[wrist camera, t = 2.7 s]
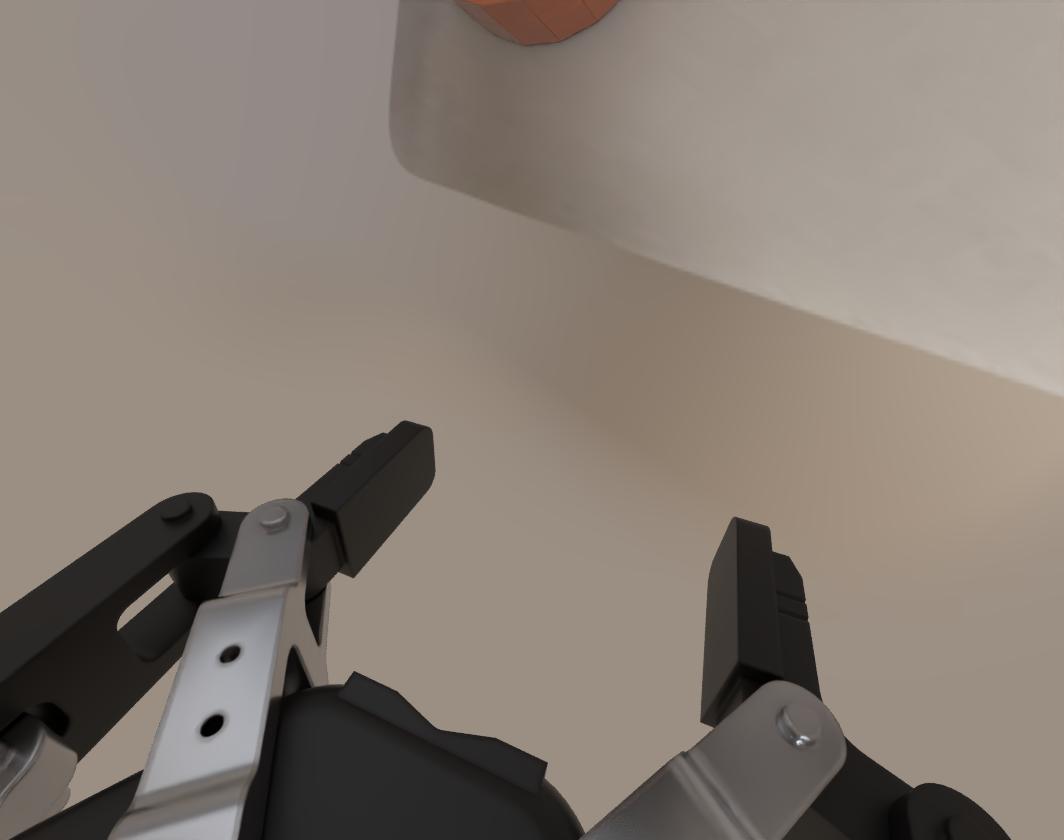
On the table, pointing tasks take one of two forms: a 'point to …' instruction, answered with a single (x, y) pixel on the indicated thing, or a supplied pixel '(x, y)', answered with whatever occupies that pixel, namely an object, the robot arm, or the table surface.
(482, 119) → the table surface
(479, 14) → the bowl
